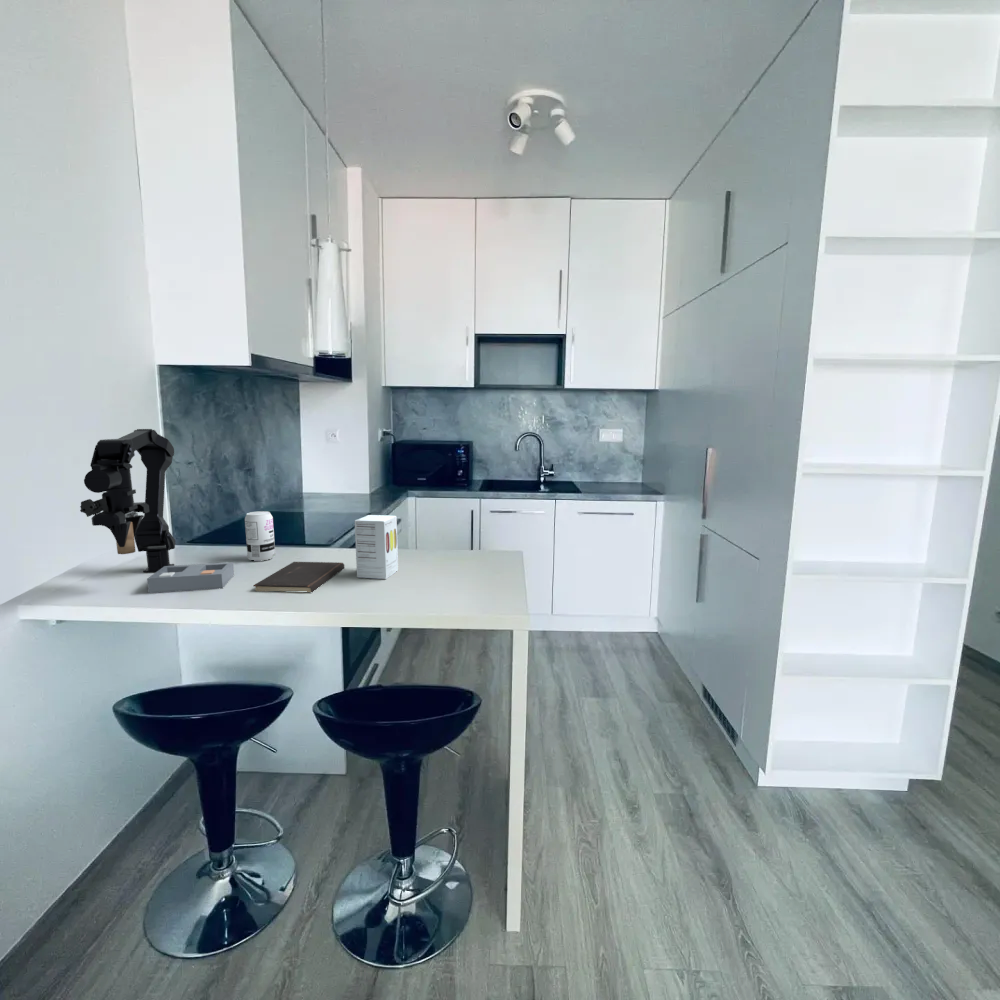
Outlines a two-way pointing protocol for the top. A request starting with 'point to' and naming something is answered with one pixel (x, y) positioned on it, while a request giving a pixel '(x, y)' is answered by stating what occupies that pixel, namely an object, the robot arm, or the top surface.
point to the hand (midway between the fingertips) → (125, 544)
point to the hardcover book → (300, 576)
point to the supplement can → (259, 535)
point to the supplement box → (376, 546)
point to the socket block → (190, 577)
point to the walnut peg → (128, 543)
